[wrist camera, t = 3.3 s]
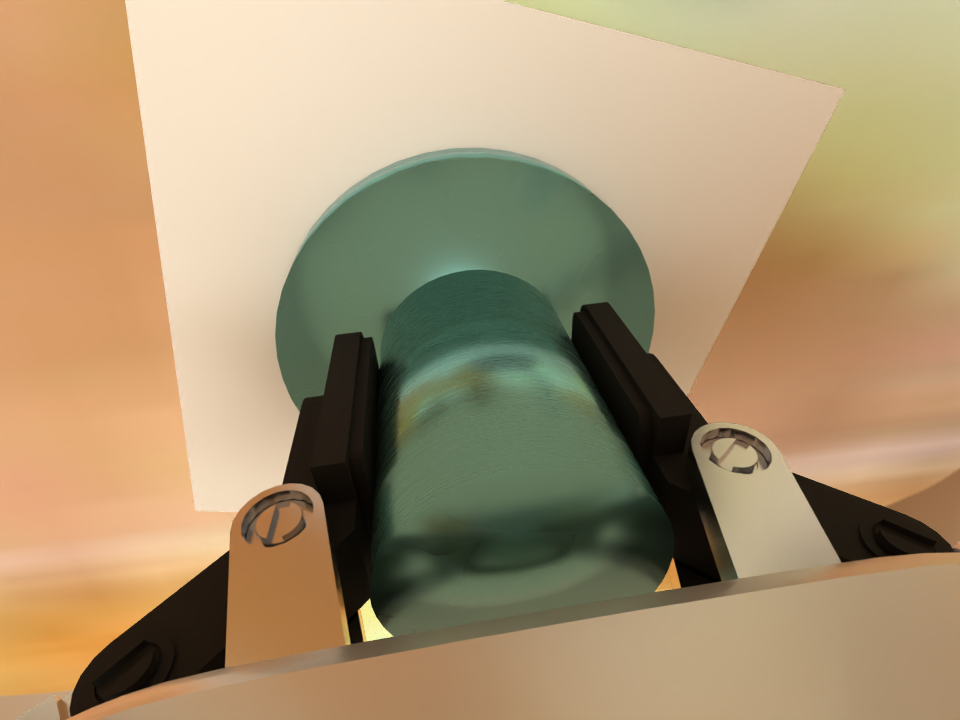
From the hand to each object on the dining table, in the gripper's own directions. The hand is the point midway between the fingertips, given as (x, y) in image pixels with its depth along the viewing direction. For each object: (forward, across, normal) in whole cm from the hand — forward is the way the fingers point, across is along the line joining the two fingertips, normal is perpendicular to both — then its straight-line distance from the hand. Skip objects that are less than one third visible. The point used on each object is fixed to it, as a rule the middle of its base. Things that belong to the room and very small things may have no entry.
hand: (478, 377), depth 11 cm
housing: (+7, 0, 0) cm, 7 cm away
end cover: (+7, 0, 0) cm, 7 cm away
